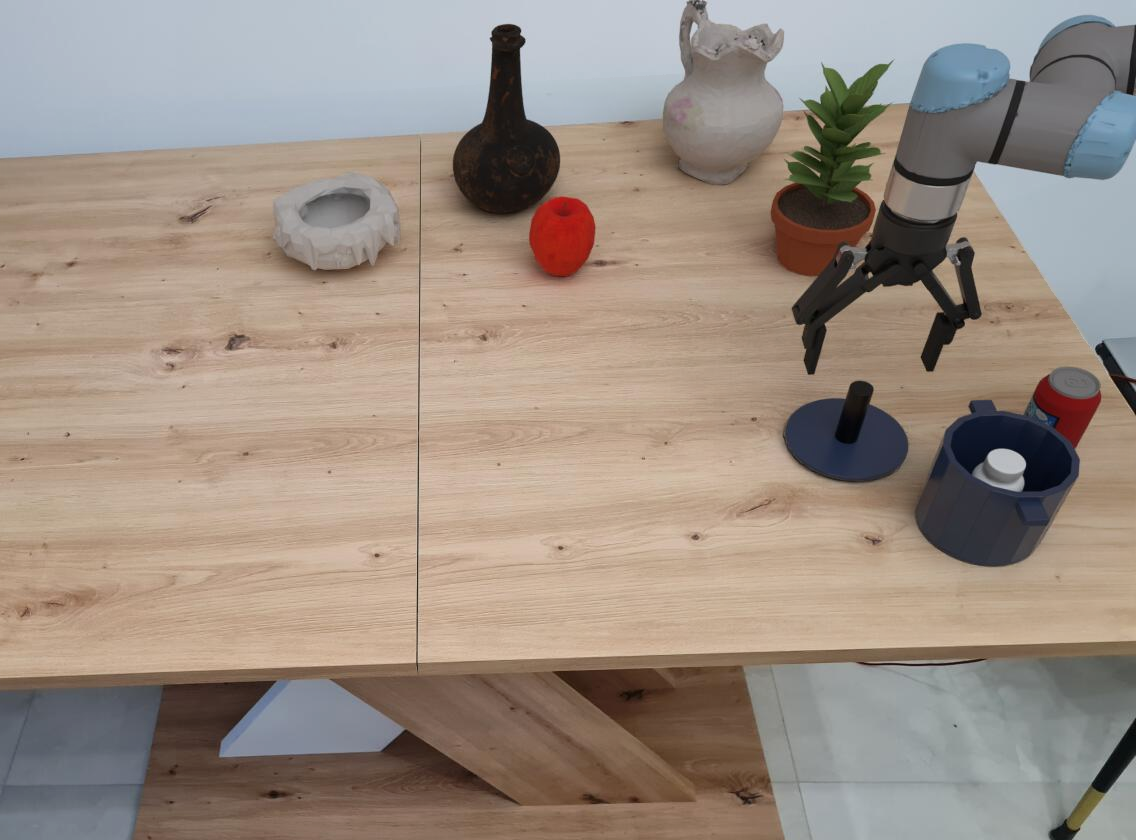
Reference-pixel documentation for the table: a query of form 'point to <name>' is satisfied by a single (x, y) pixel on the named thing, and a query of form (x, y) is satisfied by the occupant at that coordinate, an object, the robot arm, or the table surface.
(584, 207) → the apple
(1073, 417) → the beverage can
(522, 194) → the glass bottle
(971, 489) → the pot
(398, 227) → the bowl
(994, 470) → the pill bottle
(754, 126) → the ceramic pitcher
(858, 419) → the lid
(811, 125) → the potted plant
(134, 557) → the table surface
